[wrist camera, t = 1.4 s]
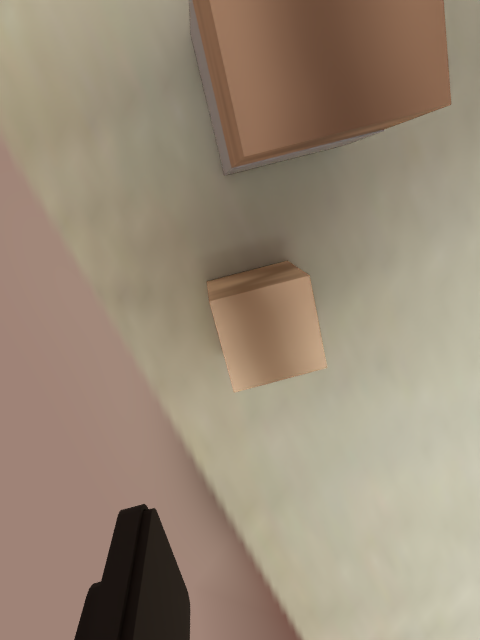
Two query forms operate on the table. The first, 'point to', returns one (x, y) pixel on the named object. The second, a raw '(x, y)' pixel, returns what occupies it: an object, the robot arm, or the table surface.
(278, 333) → the oak cube
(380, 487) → the table surface
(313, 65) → the top block
